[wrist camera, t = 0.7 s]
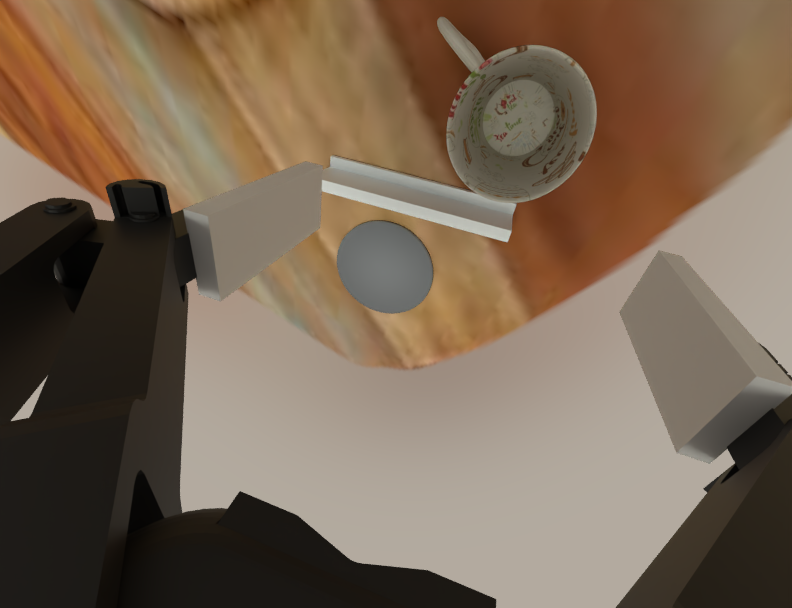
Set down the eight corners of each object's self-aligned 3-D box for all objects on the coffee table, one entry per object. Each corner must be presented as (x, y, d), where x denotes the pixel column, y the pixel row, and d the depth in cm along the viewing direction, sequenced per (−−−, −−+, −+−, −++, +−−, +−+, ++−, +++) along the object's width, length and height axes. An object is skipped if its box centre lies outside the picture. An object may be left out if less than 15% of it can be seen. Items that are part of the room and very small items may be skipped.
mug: (508, 193, 32) (504, 229, 24) (411, 80, 30) (370, 78, 22) (597, 118, 28) (630, 131, 19) (491, -21, 25) (477, -73, 17)
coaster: (343, 208, 37) (341, 209, 37) (444, 236, 36) (443, 238, 36) (334, 295, 44) (333, 297, 43) (421, 323, 42) (420, 325, 42)
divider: (333, 155, 35) (308, 164, 31) (516, 202, 32) (516, 219, 28) (331, 185, 37) (307, 198, 32) (505, 233, 34) (503, 253, 30)
